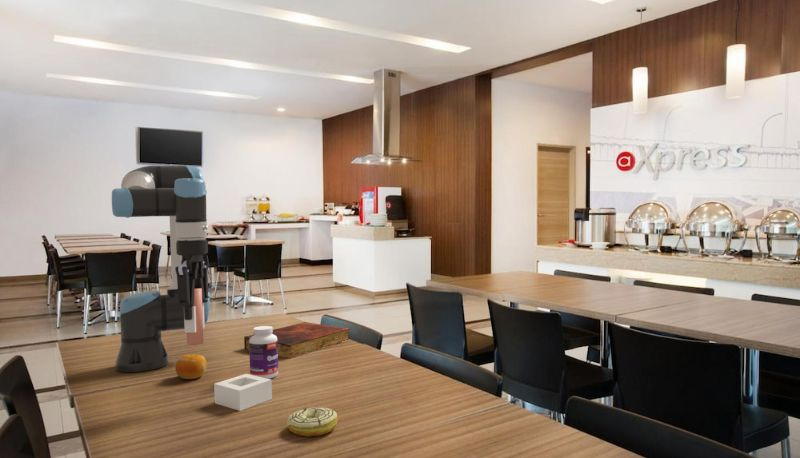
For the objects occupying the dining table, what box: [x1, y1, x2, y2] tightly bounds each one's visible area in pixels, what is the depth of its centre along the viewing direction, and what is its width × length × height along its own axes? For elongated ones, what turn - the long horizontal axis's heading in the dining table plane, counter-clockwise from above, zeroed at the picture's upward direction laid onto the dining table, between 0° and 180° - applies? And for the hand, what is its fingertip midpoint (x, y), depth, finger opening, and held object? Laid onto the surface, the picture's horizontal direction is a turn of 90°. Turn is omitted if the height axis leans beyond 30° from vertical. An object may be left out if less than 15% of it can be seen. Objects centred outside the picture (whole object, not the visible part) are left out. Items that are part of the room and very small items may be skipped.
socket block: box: [213, 373, 273, 412], centre depth 139 cm, size 10×10×5 cm
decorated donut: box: [286, 406, 339, 438], centre depth 120 cm, size 10×11×4 cm
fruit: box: [175, 353, 208, 380], centre depth 160 cm, size 8×8×8 cm
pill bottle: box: [248, 325, 279, 379], centre depth 159 cm, size 8×8×14 cm
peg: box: [186, 288, 205, 346], centre depth 140 cm, size 4×4×14 cm
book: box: [243, 321, 351, 359], centre depth 198 cm, size 30×24×5 cm
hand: (194, 329), depth 140 cm, fingers closed on peg, 4 cm apart
